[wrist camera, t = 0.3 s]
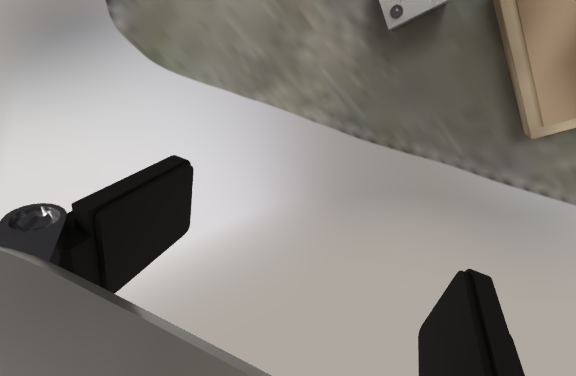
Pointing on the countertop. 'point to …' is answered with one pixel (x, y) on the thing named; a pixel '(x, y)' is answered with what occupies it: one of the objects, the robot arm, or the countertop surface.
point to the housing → (407, 10)
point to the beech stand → (541, 61)
